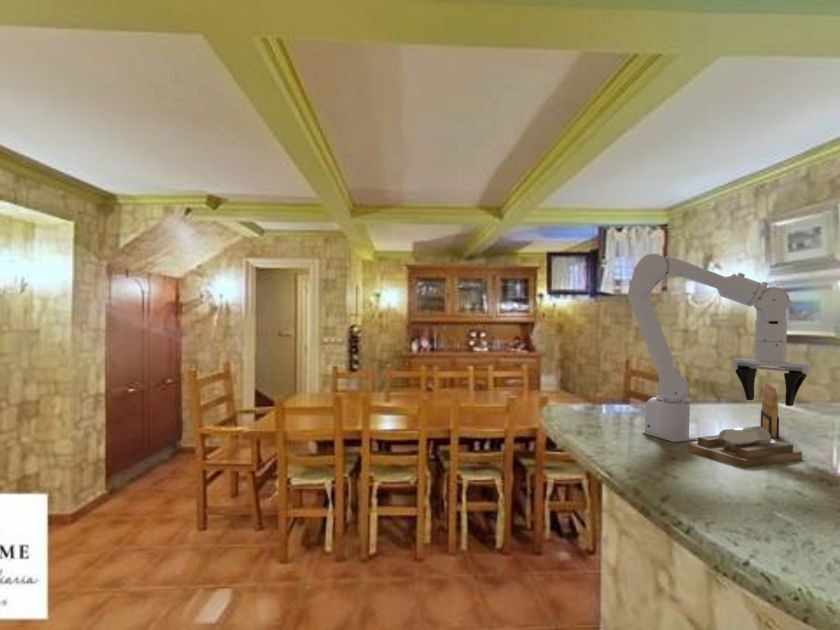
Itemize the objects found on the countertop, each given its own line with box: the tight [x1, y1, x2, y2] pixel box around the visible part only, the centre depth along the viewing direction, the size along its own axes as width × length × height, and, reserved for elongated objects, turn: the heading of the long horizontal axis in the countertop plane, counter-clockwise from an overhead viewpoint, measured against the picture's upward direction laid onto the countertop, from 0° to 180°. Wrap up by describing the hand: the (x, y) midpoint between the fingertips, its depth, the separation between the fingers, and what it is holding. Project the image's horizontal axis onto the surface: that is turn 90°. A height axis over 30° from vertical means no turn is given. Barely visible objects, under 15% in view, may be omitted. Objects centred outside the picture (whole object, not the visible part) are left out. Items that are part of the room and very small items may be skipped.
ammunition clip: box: [759, 383, 780, 439], centre depth 124 cm, size 11×2×12 cm, turn 155°
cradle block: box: [688, 434, 803, 469], centre depth 104 cm, size 12×18×3 cm, turn 113°
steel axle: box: [718, 425, 772, 452], centre depth 103 cm, size 4×10×4 cm
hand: (769, 402), depth 109 cm, fingers open, 7 cm apart
